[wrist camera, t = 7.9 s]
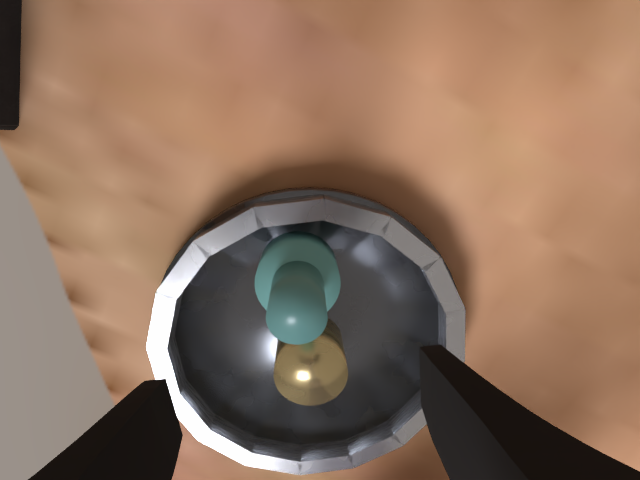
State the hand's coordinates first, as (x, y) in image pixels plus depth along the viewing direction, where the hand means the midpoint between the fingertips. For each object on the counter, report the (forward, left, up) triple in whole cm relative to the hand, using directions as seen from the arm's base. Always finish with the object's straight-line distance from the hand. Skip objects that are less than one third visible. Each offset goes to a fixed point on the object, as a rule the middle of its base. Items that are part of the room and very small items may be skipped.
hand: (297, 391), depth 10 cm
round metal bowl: (-4, 0, -10) cm, 11 cm away
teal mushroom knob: (0, 0, -9) cm, 9 cm away
